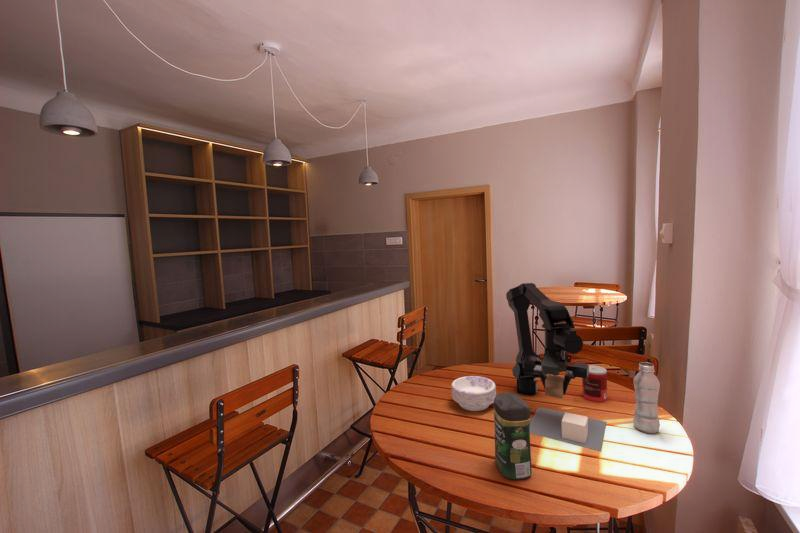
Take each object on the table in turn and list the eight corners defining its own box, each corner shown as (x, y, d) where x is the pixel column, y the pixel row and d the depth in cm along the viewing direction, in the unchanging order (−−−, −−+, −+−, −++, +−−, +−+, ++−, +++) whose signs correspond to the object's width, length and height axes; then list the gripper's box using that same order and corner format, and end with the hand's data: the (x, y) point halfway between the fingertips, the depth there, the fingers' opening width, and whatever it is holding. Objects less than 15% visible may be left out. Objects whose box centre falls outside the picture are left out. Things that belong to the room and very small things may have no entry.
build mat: (524, 433, 106) (524, 431, 106) (538, 408, 121) (538, 407, 121) (601, 453, 95) (601, 451, 95) (606, 423, 109) (606, 421, 109)
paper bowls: (447, 412, 121) (446, 389, 121) (457, 394, 135) (457, 373, 135) (493, 418, 116) (492, 395, 115) (498, 399, 130) (498, 377, 129)
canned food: (600, 394, 130) (600, 364, 129) (611, 404, 122) (611, 372, 121) (578, 394, 131) (578, 365, 130) (588, 404, 123) (587, 373, 122)
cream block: (561, 437, 102) (561, 420, 102) (565, 428, 107) (565, 412, 106) (585, 443, 98) (585, 426, 98) (587, 433, 103) (587, 416, 103)
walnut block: (545, 395, 113) (545, 379, 112) (548, 389, 117) (548, 374, 116) (562, 398, 110) (562, 382, 109) (565, 392, 114) (565, 377, 114)
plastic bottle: (655, 426, 107) (655, 361, 105) (663, 438, 100) (664, 369, 99) (630, 423, 109) (630, 359, 108) (636, 435, 102) (637, 367, 101)
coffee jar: (491, 458, 95) (489, 390, 93) (520, 456, 95) (518, 388, 94) (504, 483, 85) (502, 407, 84) (536, 480, 85) (535, 405, 84)
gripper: (517, 347, 111) (518, 396, 112) (584, 356, 100) (584, 409, 101) (526, 338, 120) (527, 383, 121) (589, 345, 110) (589, 395, 111)
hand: (555, 392), depth 113 cm, fingers closed on walnut block, 5 cm apart
